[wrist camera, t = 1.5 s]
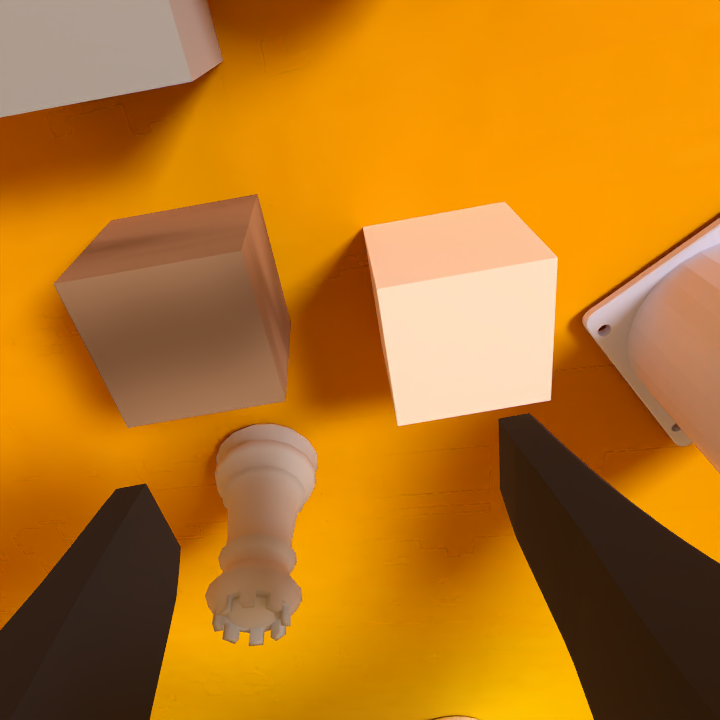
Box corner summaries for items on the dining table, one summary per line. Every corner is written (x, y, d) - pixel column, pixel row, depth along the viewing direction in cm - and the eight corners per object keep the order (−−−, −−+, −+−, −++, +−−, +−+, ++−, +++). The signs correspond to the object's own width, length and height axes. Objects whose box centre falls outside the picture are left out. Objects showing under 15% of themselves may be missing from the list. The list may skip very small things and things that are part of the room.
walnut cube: (290, 321, 21) (285, 401, 17) (164, 343, 21) (127, 427, 17) (257, 193, 18) (241, 250, 14) (111, 219, 18) (53, 283, 14)
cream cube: (505, 323, 22) (550, 400, 18) (381, 345, 22) (397, 426, 18) (504, 201, 19) (557, 257, 15) (362, 226, 19) (376, 289, 15)
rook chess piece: (195, 449, 24) (151, 620, 17) (275, 400, 23) (260, 563, 16) (261, 504, 26) (244, 675, 20) (337, 461, 25) (346, 628, 18)
